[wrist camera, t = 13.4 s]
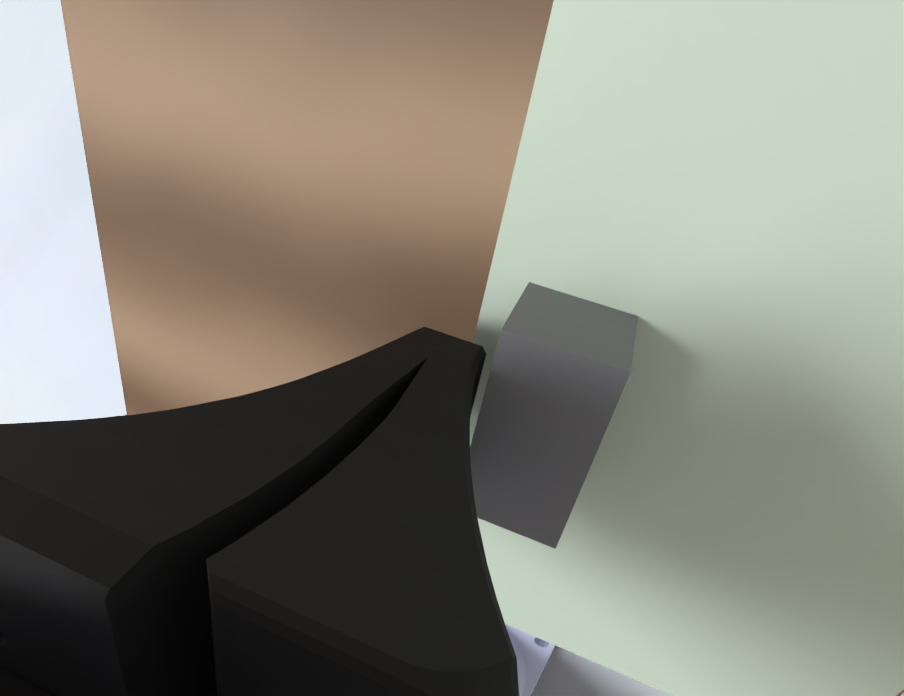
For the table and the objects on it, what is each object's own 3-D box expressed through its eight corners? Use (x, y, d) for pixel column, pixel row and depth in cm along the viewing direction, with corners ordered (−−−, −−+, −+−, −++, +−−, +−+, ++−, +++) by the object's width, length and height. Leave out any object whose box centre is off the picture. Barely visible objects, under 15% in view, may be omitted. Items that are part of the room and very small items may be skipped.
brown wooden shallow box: (819, 619, 17) (848, 739, 14) (205, 380, 21) (130, 436, 18) (1309, 71, 9) (1606, 91, 6) (172, -143, 13) (29, -193, 10)
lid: (814, 726, 14) (841, 861, 12) (426, 562, 16) (384, 651, 14) (1513, 73, 6) (2003, 97, 4) (586, -93, 8) (551, -141, 6)
